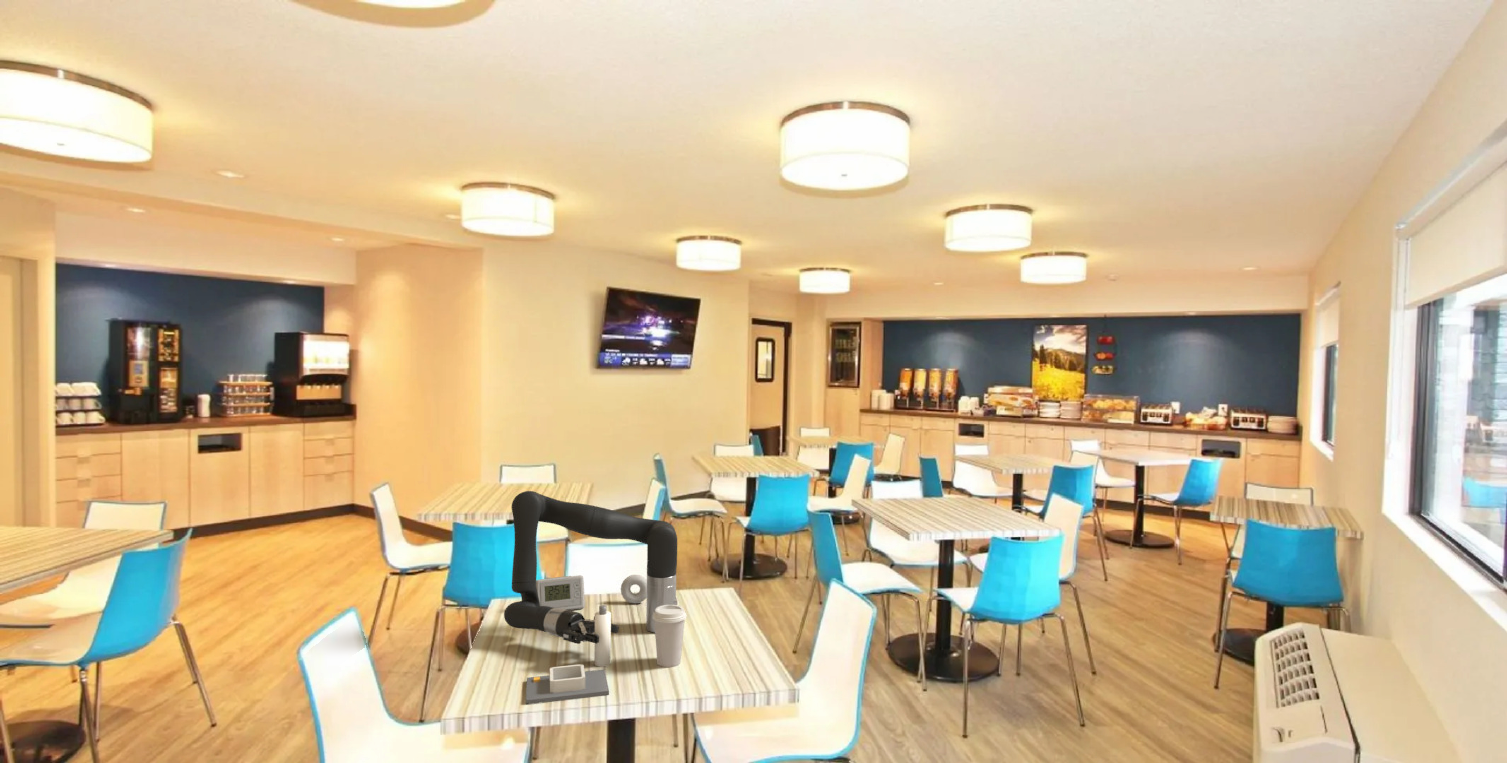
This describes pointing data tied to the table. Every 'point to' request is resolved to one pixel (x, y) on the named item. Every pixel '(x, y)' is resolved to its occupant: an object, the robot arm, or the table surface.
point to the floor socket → (566, 684)
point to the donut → (627, 592)
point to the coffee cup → (669, 634)
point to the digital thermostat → (562, 592)
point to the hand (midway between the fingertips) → (608, 634)
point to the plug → (603, 637)
